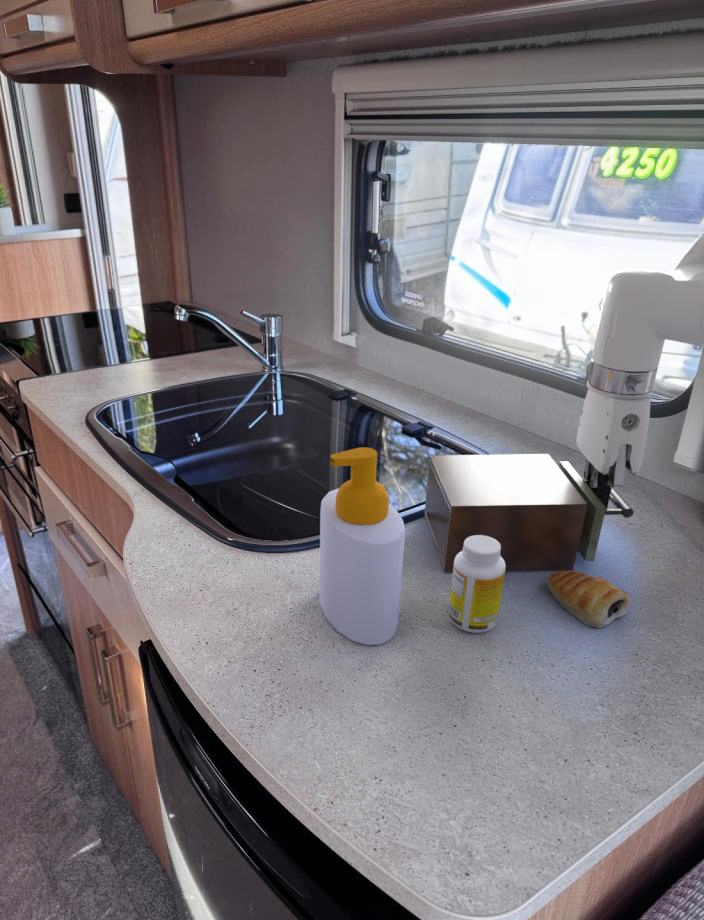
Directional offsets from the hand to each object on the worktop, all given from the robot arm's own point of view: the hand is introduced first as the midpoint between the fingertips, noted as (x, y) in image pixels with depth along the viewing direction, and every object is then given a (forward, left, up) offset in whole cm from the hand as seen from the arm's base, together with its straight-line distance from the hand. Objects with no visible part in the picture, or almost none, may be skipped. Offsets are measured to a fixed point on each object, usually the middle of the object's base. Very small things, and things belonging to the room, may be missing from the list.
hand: (592, 509), depth 96 cm
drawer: (+6, 0, -4) cm, 8 cm away
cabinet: (+13, 0, -5) cm, 13 cm away
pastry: (+6, +15, -5) cm, 17 cm away
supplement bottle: (+20, +17, -5) cm, 26 cm away
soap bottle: (+33, +15, -5) cm, 36 cm away
